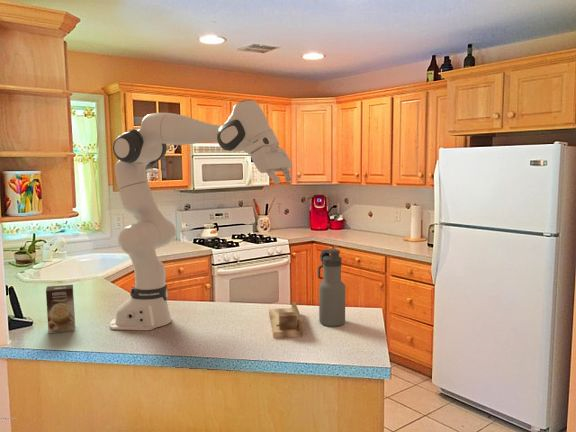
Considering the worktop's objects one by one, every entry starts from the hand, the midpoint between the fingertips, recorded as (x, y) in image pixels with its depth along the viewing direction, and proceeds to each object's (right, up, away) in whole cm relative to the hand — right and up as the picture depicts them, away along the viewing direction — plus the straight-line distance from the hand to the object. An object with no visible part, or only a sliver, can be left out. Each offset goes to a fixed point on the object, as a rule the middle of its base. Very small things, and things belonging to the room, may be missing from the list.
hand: (284, 182), depth 162 cm
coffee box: (-82, -53, +22) cm, 100 cm away
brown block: (+1, -51, +15) cm, 53 cm away
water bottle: (+18, -51, +26) cm, 60 cm away
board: (0, -51, +25) cm, 57 cm away
